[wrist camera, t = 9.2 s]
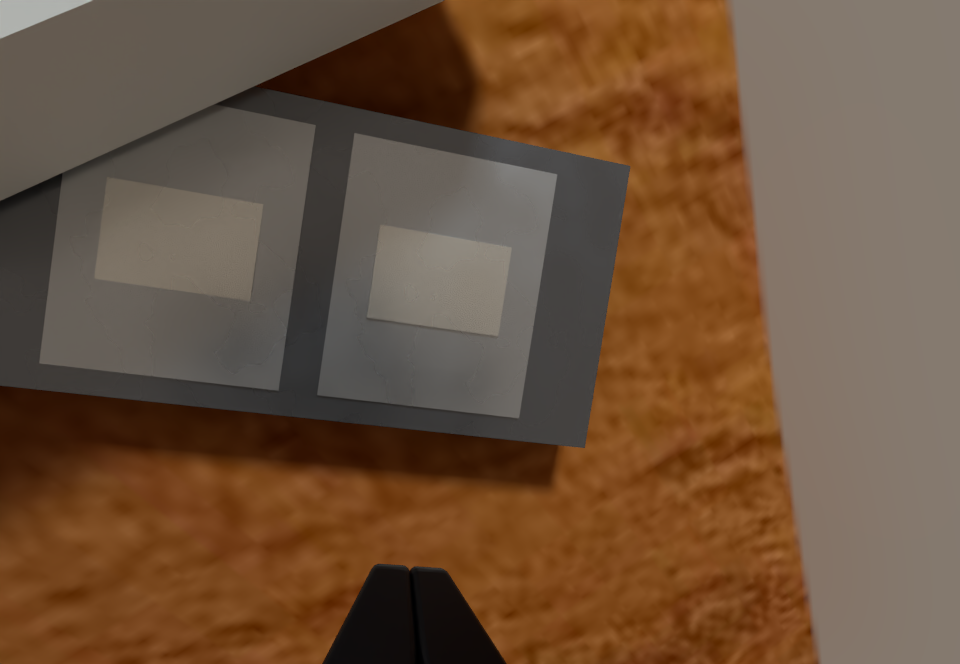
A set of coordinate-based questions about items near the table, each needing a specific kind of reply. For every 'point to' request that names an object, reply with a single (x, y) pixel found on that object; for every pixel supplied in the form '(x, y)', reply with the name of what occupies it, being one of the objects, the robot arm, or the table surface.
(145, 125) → the upright grey slab
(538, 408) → the server tray
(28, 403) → the table surface
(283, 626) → the table surface
